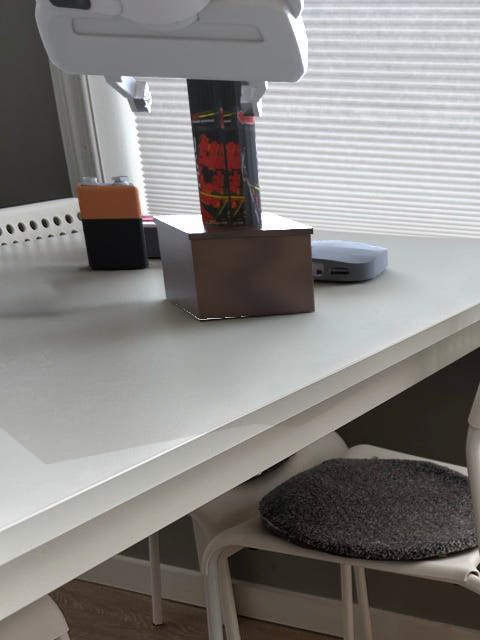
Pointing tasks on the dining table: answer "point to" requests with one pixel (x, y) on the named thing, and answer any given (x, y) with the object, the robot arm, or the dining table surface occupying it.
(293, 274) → the walnut box
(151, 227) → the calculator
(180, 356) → the dining table surface
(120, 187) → the battery
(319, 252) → the media streaming box
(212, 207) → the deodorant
